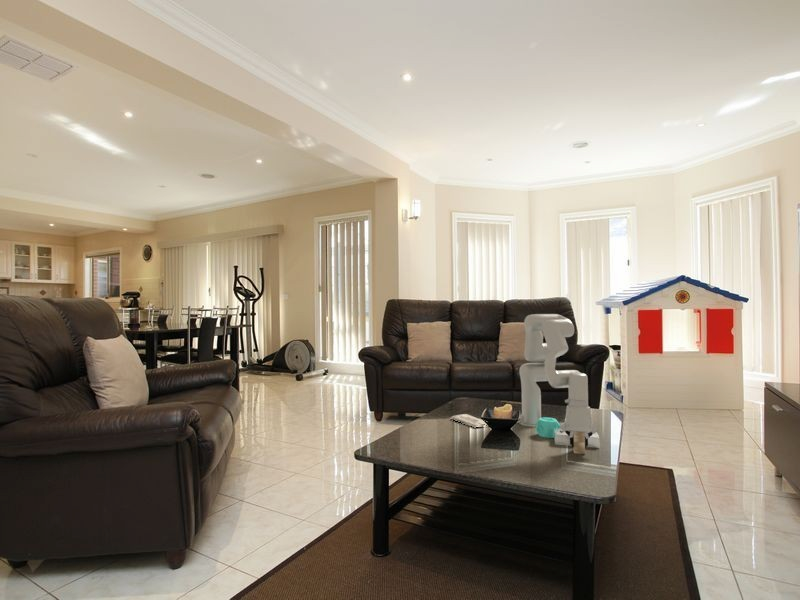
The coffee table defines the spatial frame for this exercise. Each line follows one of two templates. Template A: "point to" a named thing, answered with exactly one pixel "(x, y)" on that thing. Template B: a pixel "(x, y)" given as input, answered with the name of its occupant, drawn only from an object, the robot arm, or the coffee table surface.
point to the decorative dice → (546, 427)
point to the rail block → (564, 439)
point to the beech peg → (579, 442)
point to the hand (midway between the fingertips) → (578, 446)
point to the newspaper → (469, 420)
